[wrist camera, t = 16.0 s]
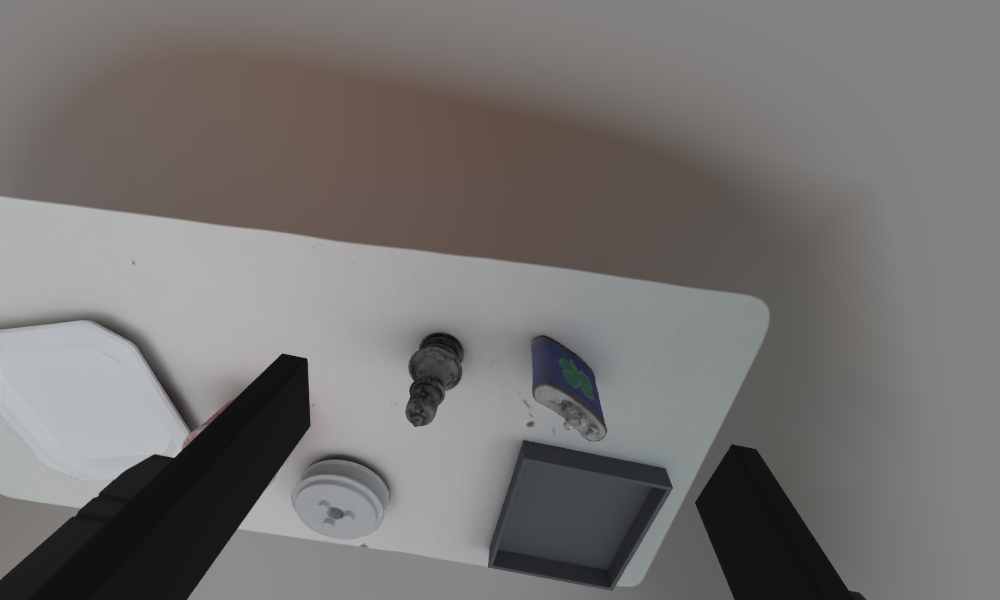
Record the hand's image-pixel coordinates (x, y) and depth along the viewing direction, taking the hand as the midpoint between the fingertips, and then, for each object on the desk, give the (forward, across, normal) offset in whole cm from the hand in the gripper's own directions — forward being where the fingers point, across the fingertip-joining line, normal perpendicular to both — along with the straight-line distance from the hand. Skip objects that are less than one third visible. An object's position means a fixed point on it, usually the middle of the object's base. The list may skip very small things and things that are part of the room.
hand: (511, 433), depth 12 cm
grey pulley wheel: (+28, -17, -44) cm, 55 cm away
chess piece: (+28, -6, -18) cm, 34 cm away
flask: (+29, +8, -16) cm, 34 cm away
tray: (+28, +15, -41) cm, 52 cm away
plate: (+27, -51, -36) cm, 68 cm away
